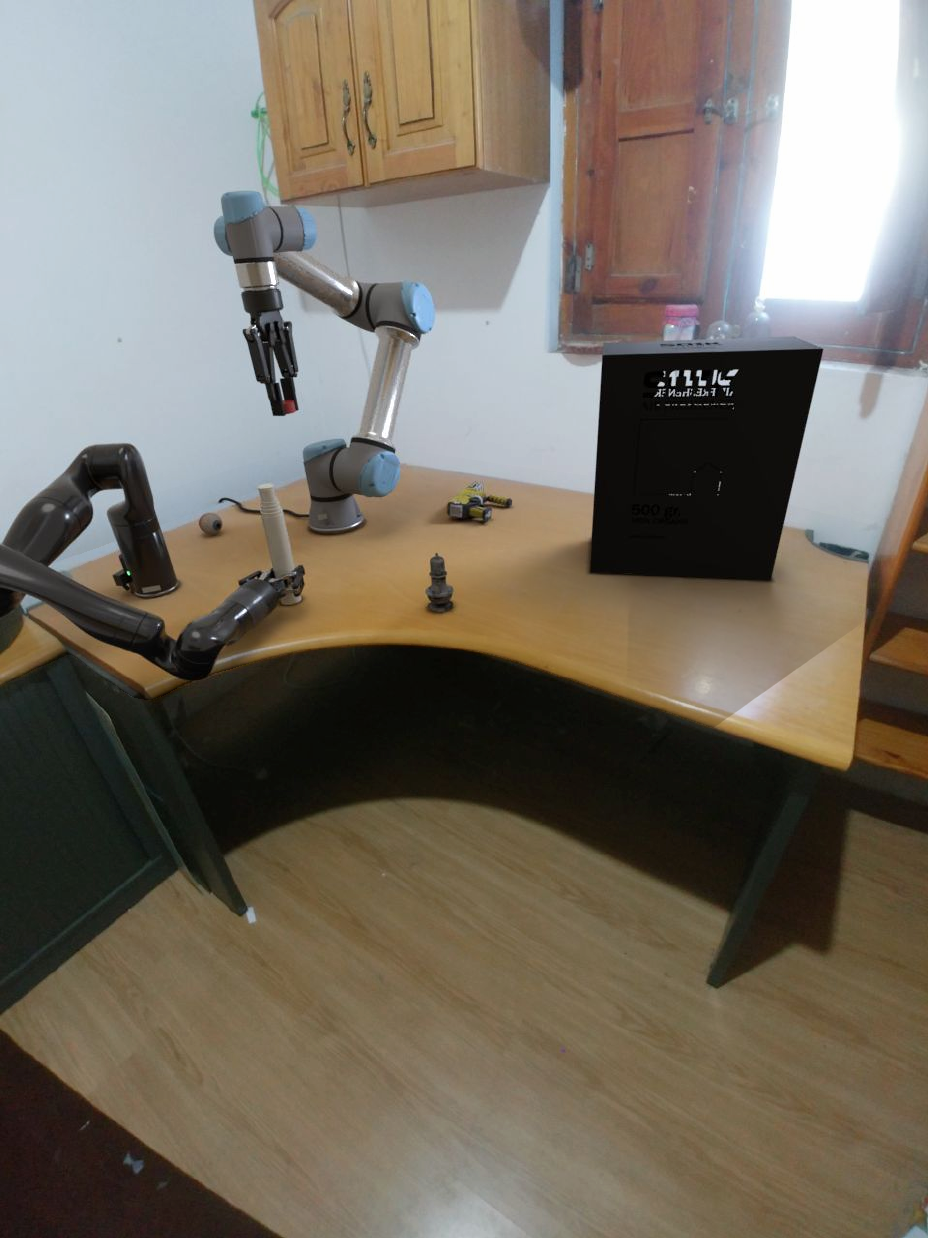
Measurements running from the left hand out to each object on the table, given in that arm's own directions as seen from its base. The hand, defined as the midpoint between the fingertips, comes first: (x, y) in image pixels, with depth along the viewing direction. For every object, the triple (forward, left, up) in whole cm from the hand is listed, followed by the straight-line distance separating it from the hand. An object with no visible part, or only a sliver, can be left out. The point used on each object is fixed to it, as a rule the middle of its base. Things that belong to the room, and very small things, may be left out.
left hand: (291, 568), depth 130 cm
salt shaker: (+33, 0, -6) cm, 34 cm away
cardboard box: (+81, +31, -6) cm, 86 cm away
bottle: (0, -3, -6) cm, 7 cm away
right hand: (-3, +15, +29) cm, 33 cm away
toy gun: (+29, +58, -6) cm, 66 cm away
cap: (-3, +15, +31) cm, 35 cm away
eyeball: (-42, +30, -6) cm, 51 cm away
